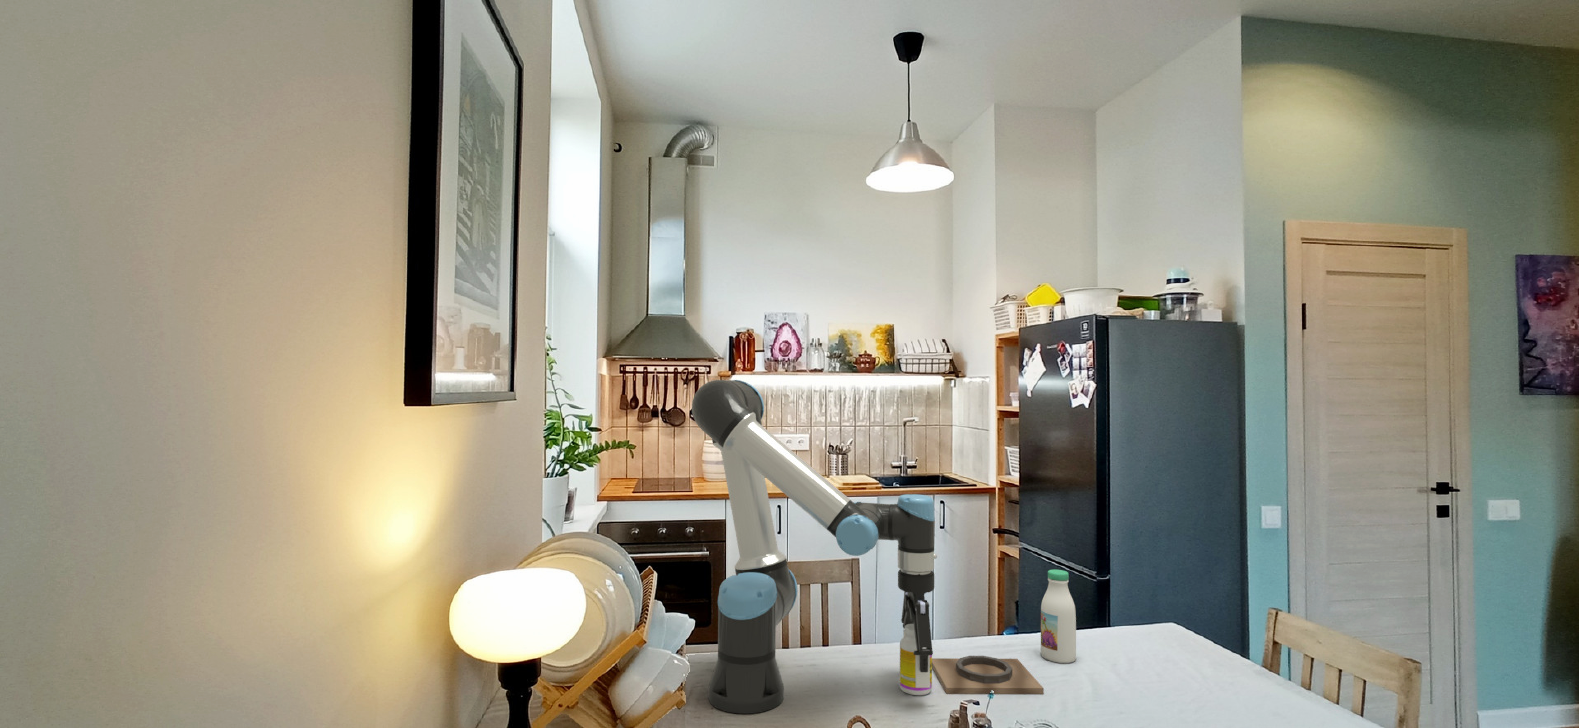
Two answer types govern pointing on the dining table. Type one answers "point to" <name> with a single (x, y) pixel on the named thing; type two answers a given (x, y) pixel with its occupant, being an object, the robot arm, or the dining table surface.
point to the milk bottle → (1058, 620)
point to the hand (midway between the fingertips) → (915, 673)
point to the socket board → (985, 676)
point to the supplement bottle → (910, 664)
